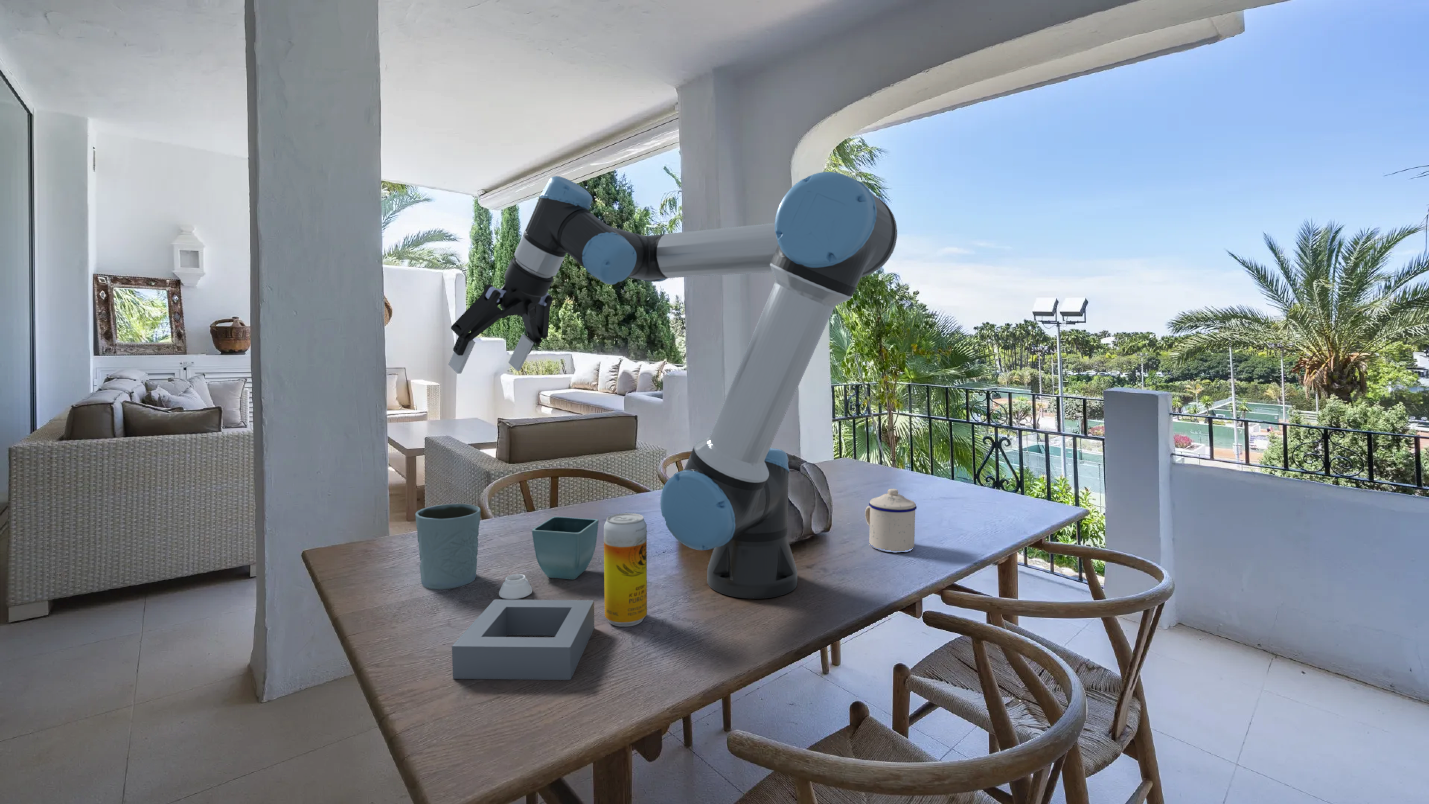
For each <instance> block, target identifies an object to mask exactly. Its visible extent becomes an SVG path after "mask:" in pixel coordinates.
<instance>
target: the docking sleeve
mask: <svg viewBox="0 0 1429 804" xmlns="http://www.w3.org/2000/svg"><path fill="white" fill-rule="evenodd" d="M594 630H595V600H592V599H588V600H587V599H586V600H585V599H584V600H583V599H513V600H511V599H496V598H495V599H493V600H492V602H490V604H489V605H488V606H487V607H486V608H485V609H484V610H483V611H482V612H481V613H480V614H479V615H478V616H477V618H476V619H475V620H474V621H473V623H471V625H469V627H468V628H467V629H466V630H464V632H463V634H461V635H460V637H458V639H457V640H456V641H455V642H454V643H453V644H452V645H451V657H452V659H451V660H452V661H451V662H452V663H451V664H452V679H453V680H460V679H461V680H533V681H534V680H535V681H536V680H537V681H538V680H545V681H546V680H547V681H549V680H550V681H551V680H553V681H554V680H555V681H559V680H560V681H562V680H563V681H571V680H572V678H573V676H574V673H575V672H576V669H577V667H578V665H579V662H580V660H581V658H582V656H583V654H584V651H585V649H586V647H587V645H588V643H589V640H590V639H591V636H592V634H593V631H594ZM522 636H523V637H522ZM525 636H527V637H525ZM528 636H529V637H528ZM533 636H534V637H533ZM536 636H537V637H536ZM538 636H539V637H538ZM540 636H544V637H540ZM551 636H552V637H551ZM553 636H554V637H553Z"/></svg>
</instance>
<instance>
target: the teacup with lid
mask: <svg viewBox="0 0 1429 804" xmlns="http://www.w3.org/2000/svg"><path fill="white" fill-rule="evenodd" d="M916 504H917V503H915V501H914V500H911V499H909V498H907V497H905V496H903V495H902V494H900V493H899V490H898V489H897V488H889V489H888V490H887V493H884V494H882V495H880V496H876V497H873V498H871V499H870V500H869V503H868V505H867V506H866V508H865V510H864V517H865V522H866V524H867V526H868V527H869V532H868V533H869V534H868V535H869V536H868V538H869V539H868V540H869V541H868V544H869V543H870V544H871V545H873V546H874V547H876V548H881V549H885V550H891V551H905V550H909V549H912V548H913V547H914V548H915V532H916V531H915V530H916V510H917V507H918V506H917V505H916ZM870 544H869V545H870Z"/></svg>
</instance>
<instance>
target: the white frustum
mask: <svg viewBox="0 0 1429 804" xmlns="http://www.w3.org/2000/svg"><path fill="white" fill-rule="evenodd" d="M504 580H505V581H503V583H502V584H501V587H500V589H499V591H498V596H499V597H500V598H502V599H504V600H521V599H523V598H526V597H528V596H530V595H531V594H532V593H533V587H532V585H531V583H530V582H529V580H528V579H527V578H526V575H525V574H522V573H515V574H509V575H507V576H506V577H505V579H504Z"/></svg>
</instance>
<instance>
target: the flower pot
mask: <svg viewBox="0 0 1429 804" xmlns="http://www.w3.org/2000/svg"><path fill="white" fill-rule="evenodd" d="M599 523H600V521H599V519H596V518H584V517H583V518H582V517H581V518H580V517H570V516H569V517H568V516H552V517H550V518H549V519H547V520H545V521H543V522H542V523H541V524H539V525H537V526H536V527H534V528H532V529H531V534H532V535H531V536H532V541H533V549H534V553H535V557H536V560H537V563H538V565H539V567H540V570H541V571H542V572H543V573H544V574H545V575H546V576H547V578H552V579H563V580H564V579H565V580H576V579H577V578H578V577H579V576H580V575H582V574H583V573H584V572H585V571H586V570H587V569H588V567H589V564H590V563H591V561H592V558H593V556H594V553H595V550H596V545H597V539H598V530H599Z"/></svg>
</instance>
